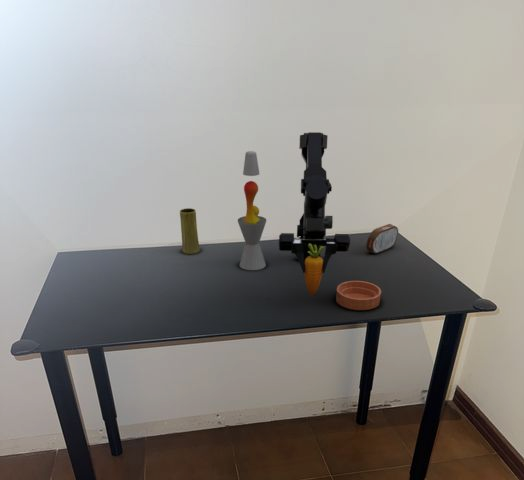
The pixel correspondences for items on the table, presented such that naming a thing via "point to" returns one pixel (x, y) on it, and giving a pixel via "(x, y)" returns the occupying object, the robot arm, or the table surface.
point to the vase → (189, 231)
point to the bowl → (358, 295)
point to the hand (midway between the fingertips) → (313, 272)
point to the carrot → (313, 269)
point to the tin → (382, 238)
